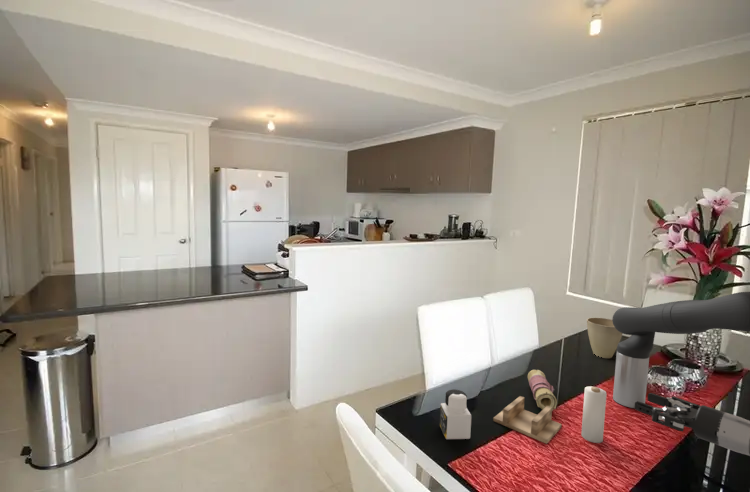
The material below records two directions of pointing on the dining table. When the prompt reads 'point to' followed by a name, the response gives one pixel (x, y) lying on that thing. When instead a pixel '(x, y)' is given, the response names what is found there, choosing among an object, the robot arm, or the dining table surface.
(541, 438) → the stand
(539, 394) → the scroll
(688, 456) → the dining table surface
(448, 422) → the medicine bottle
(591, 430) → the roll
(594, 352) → the plant pot
